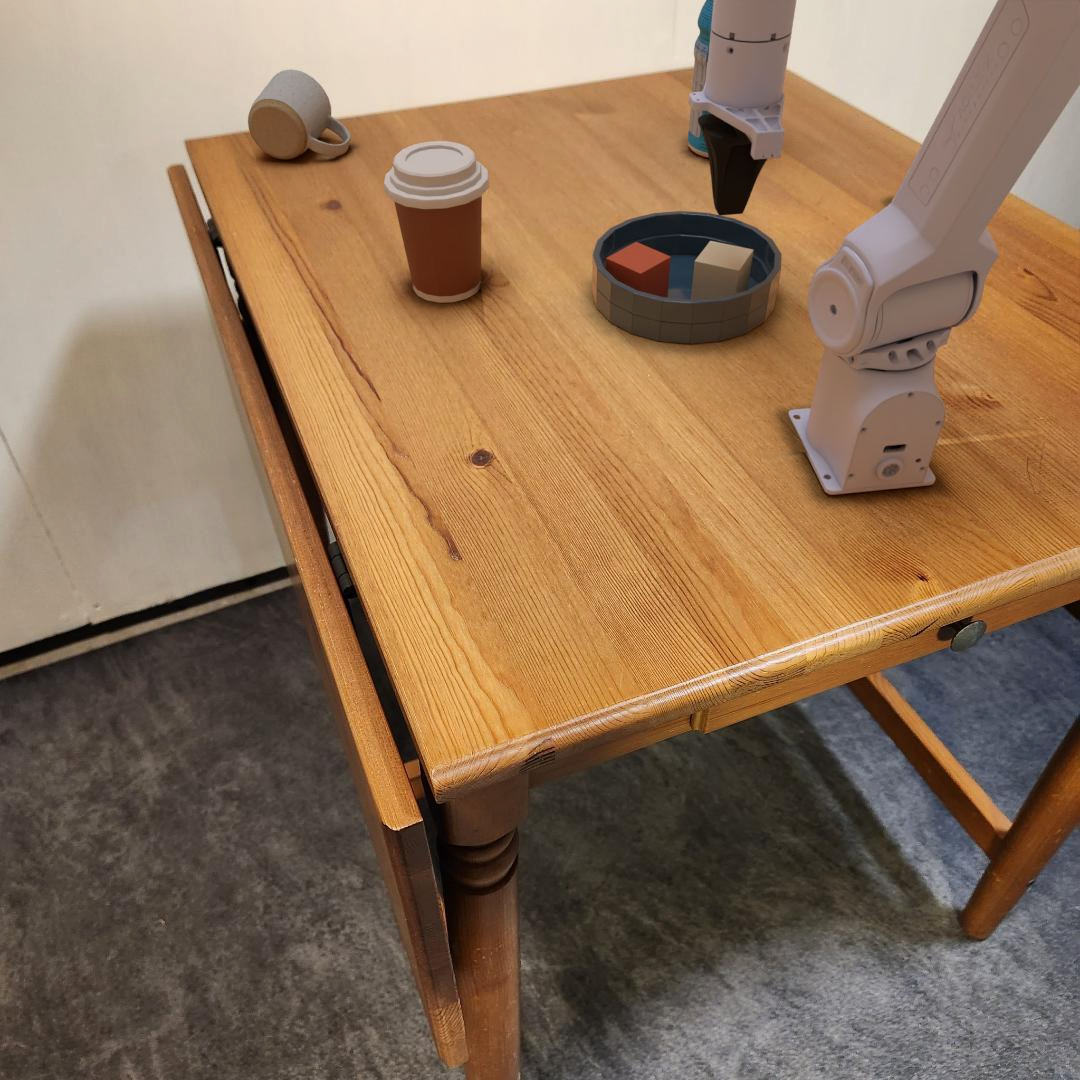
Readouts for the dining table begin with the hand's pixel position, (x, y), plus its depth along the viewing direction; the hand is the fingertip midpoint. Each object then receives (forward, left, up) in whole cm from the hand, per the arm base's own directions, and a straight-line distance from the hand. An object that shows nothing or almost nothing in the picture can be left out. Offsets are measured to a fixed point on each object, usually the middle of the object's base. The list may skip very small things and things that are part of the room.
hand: (728, 210), depth 77 cm
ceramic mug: (+42, +38, -10) cm, 58 cm away
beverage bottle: (+34, -10, -10) cm, 37 cm away
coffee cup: (+8, +24, -10) cm, 27 cm away
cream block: (+2, -1, -9) cm, 9 cm away
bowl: (+2, +2, -9) cm, 10 cm away
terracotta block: (+2, +7, -9) cm, 11 cm away
